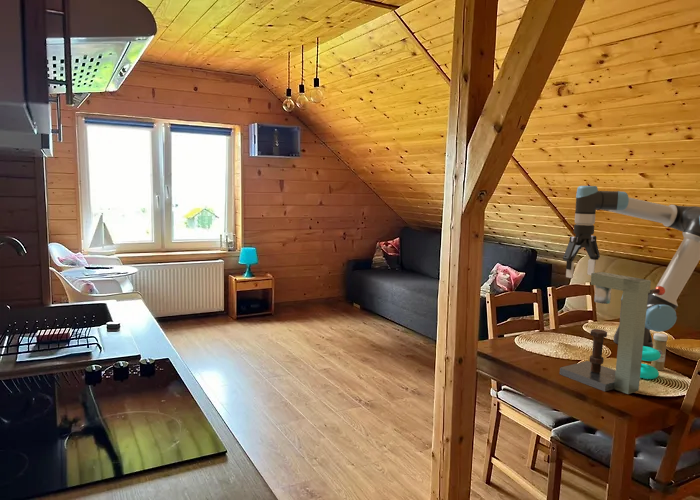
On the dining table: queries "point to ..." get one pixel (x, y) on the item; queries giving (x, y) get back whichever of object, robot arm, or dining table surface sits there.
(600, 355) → the bolt
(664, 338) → the sprinkles bottle
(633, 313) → the press
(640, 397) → the dining table surface
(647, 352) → the donuts
